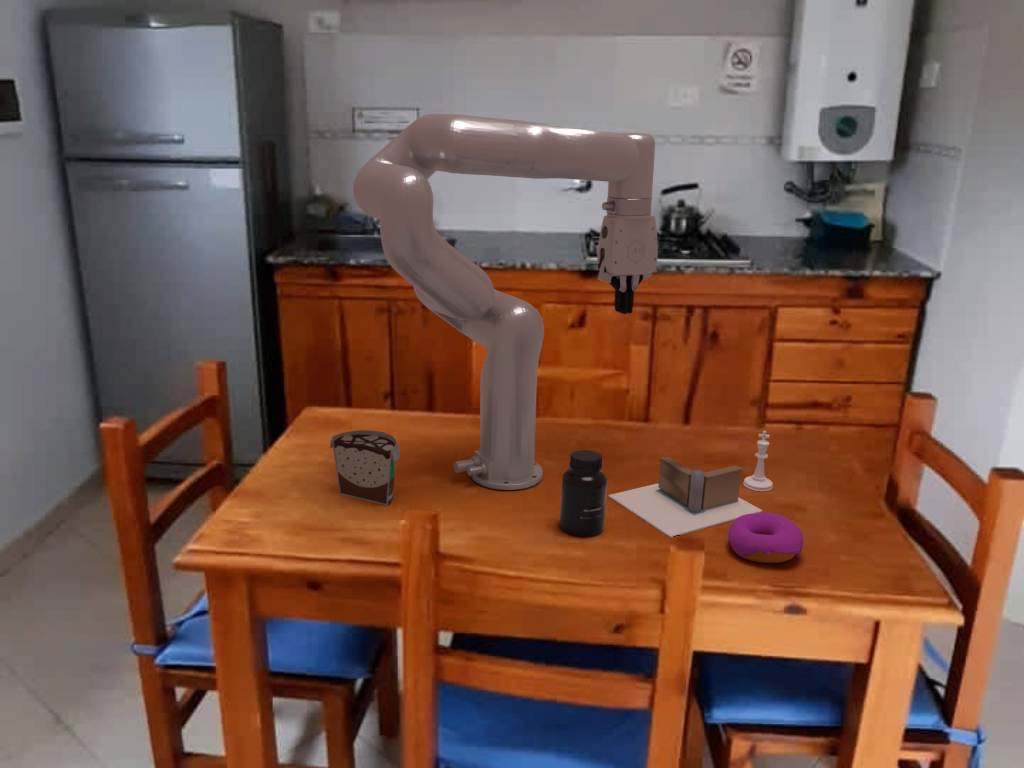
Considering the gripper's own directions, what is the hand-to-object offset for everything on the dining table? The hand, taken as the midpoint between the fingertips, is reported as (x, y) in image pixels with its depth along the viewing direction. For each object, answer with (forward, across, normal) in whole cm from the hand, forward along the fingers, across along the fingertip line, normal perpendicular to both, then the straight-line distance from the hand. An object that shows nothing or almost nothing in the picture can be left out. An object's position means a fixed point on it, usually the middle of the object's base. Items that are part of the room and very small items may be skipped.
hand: (623, 311), depth 151 cm
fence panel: (+26, -3, -21) cm, 34 cm away
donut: (+27, -1, -41) cm, 49 cm away
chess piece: (+27, +14, -23) cm, 38 cm away
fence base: (+27, -2, -23) cm, 36 cm away
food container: (+27, -47, +2) cm, 54 cm away
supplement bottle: (+27, -22, -23) cm, 42 cm away
